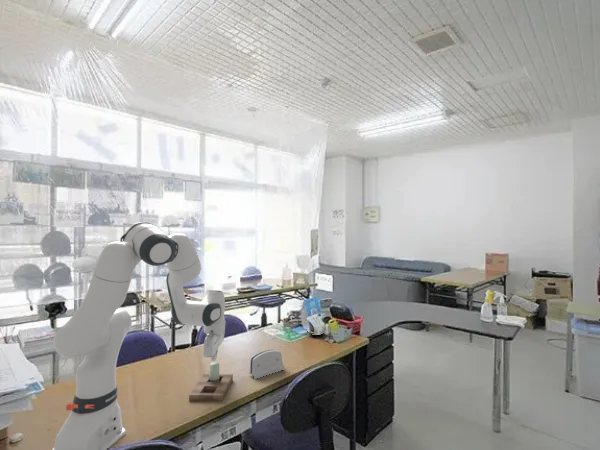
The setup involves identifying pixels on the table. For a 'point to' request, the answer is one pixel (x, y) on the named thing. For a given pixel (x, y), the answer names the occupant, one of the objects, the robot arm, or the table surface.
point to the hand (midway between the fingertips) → (214, 359)
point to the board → (211, 388)
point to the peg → (214, 372)
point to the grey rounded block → (266, 363)
